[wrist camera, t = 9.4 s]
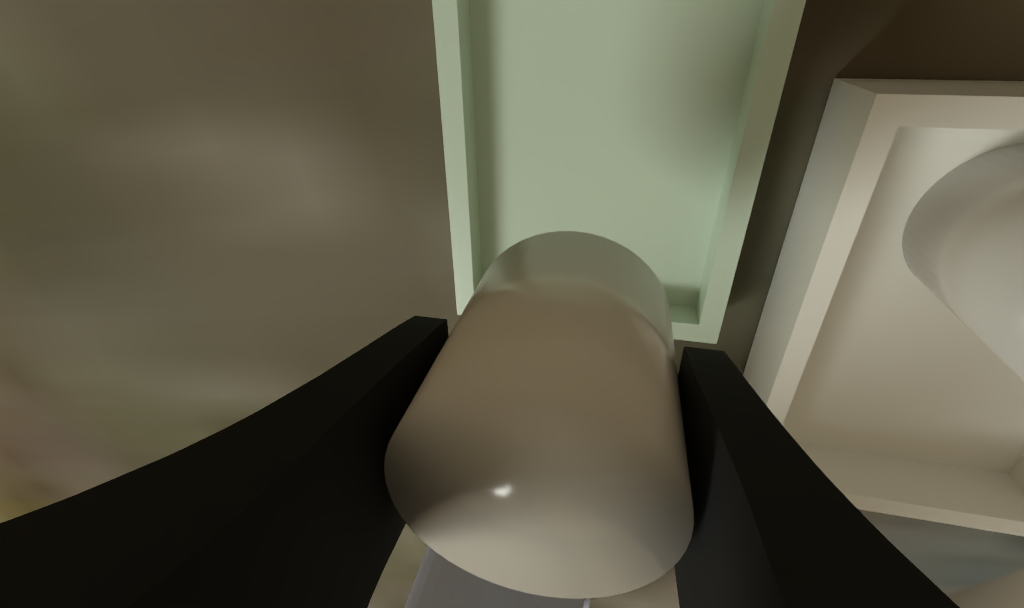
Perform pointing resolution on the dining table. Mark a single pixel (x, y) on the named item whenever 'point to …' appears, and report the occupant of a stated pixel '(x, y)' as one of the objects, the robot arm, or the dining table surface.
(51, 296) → the dining table surface
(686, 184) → the tray
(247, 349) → the dining table surface
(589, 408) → the pebble
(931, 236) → the pebble
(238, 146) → the dining table surface
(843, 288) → the bin
